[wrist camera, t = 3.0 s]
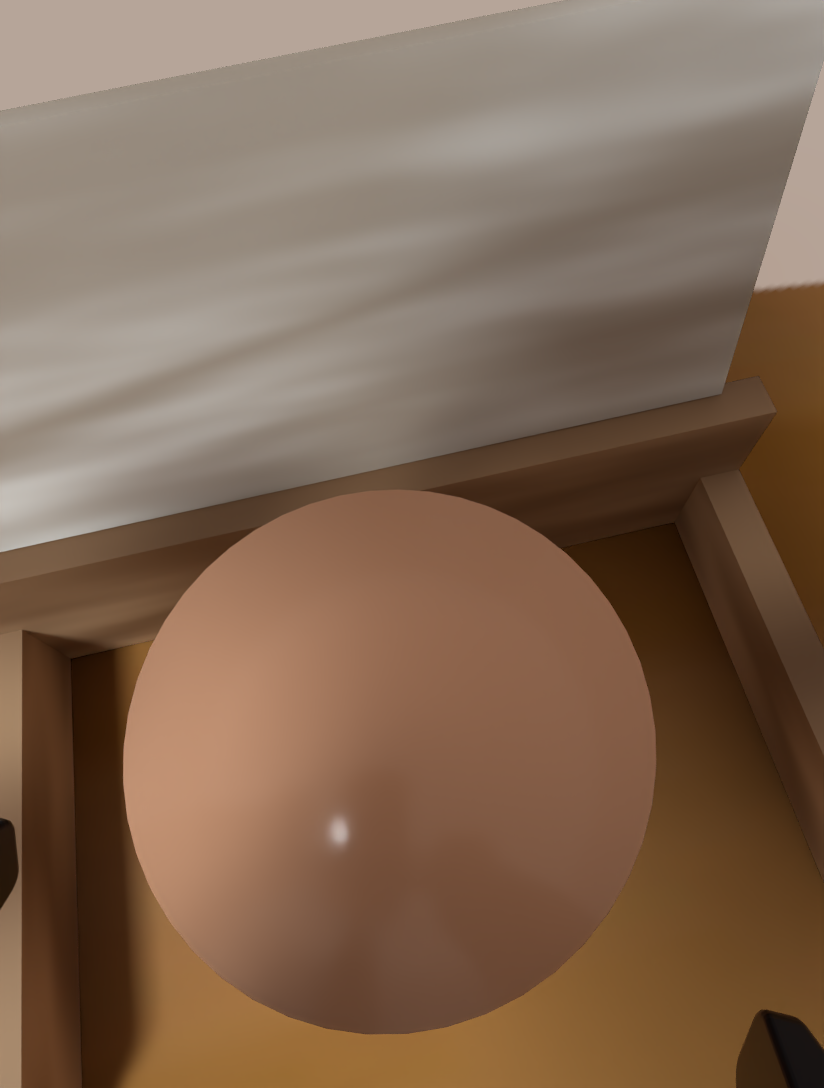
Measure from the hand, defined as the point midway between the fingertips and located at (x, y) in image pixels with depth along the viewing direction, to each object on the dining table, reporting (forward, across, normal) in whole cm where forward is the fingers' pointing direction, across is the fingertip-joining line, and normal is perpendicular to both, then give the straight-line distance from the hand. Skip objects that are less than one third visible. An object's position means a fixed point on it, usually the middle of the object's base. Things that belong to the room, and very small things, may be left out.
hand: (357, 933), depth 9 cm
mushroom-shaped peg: (+8, 0, +5) cm, 10 cm away
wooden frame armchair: (+9, +1, +4) cm, 10 cm away
